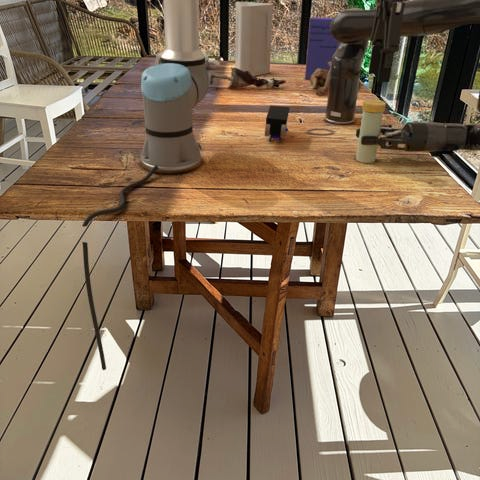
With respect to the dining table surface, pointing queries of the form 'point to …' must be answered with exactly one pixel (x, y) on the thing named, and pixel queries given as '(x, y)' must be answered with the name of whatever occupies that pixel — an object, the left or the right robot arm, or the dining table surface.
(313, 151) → the dining table surface
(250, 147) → the dining table surface
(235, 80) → the figurine
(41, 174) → the dining table surface
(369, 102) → the lid
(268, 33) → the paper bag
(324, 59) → the cereal box
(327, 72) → the anatomical model
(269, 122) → the figurine character
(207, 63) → the toy
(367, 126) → the jar
